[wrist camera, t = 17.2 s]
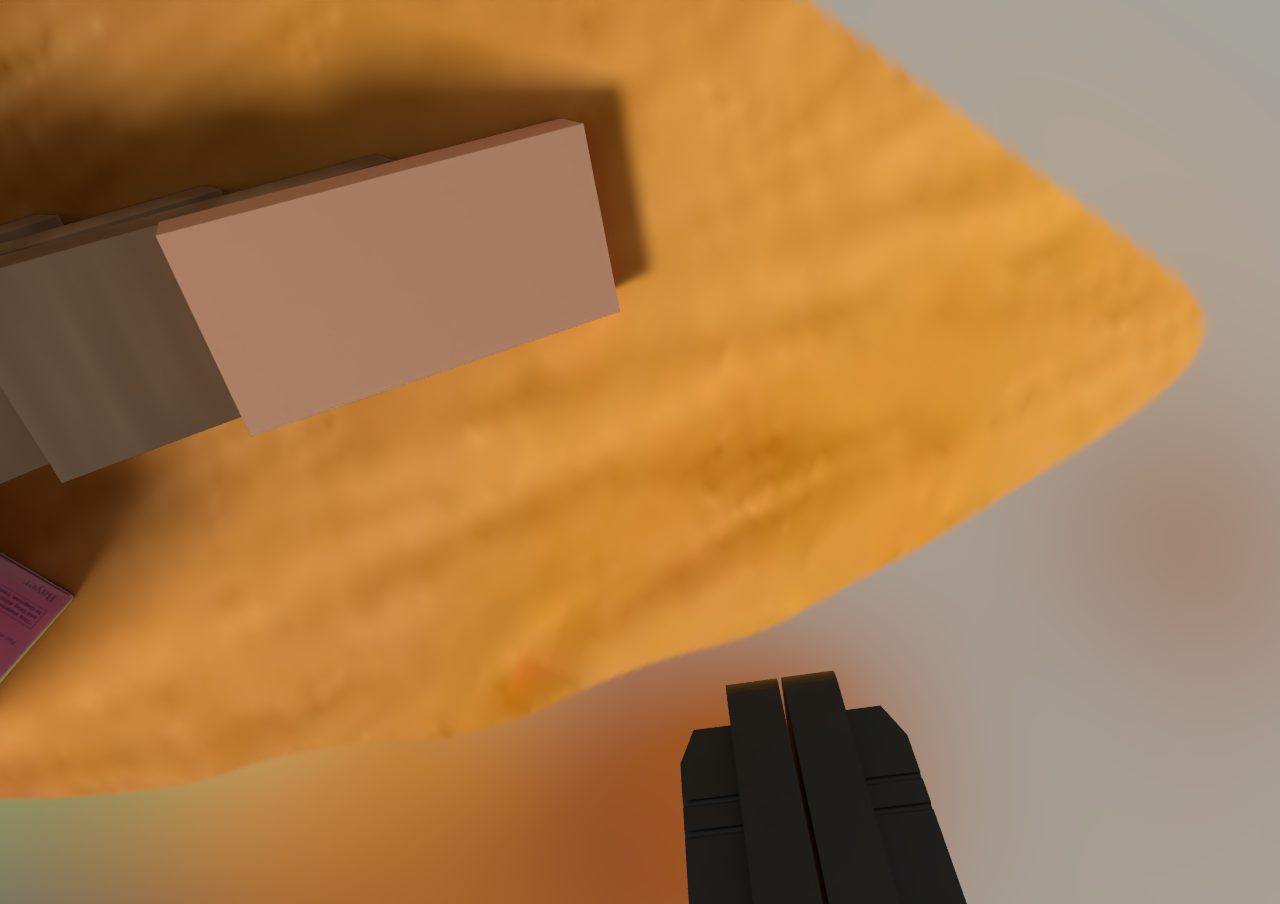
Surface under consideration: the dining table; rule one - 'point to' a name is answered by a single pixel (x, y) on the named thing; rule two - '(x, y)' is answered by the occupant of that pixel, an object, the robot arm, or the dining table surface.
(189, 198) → the domino
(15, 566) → the box
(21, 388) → the domino
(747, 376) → the dining table surface
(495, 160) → the domino end
